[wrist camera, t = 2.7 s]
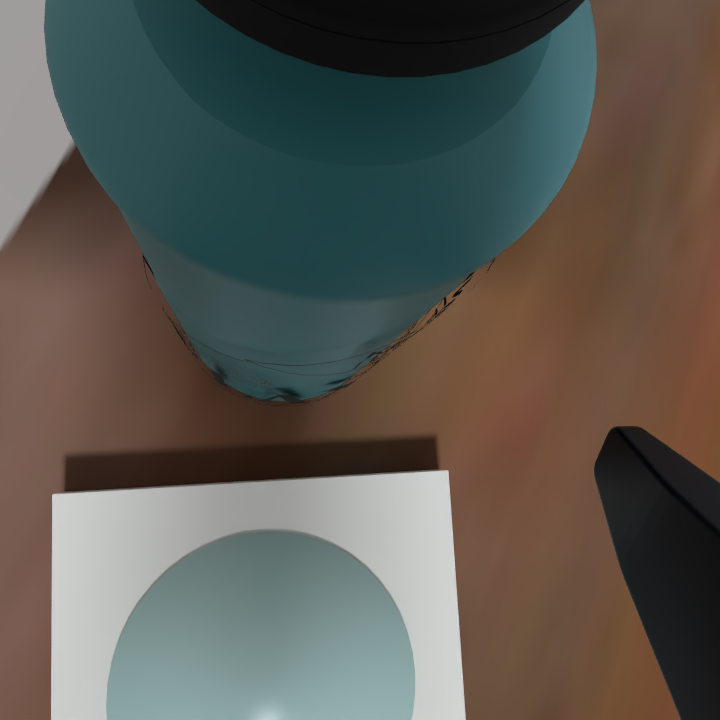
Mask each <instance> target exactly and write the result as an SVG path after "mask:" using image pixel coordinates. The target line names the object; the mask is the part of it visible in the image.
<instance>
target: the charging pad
mask: <svg viewBox="0 0 720 720" xmlns="http://www.w3.org/2000/svg"><path fill="white" fill-rule="evenodd" d="M51 720H466V718H465V704H464V690H463V675H462V661H461V646H460V632H459V618H458V603H457V589H456V574H455V560H454V546H453V531H452V517H451V502H450V488H449V474H448V470H439V469H437V470H421V471H404V472H387V473H371V474H354V475H338V476H321V477H304V478H288V479H271V480H255V481H238V482H221V483H205V484H188V485H172V486H155V487H138V488H122V489H105V490H89V491H72V492H62V493H57V494H52V665H51Z"/></svg>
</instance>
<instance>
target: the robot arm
mask: <svg viewBox="0 0 720 720" xmlns="http://www.w3.org/2000/svg"><path fill="white" fill-rule="evenodd" d="M594 476H595V481H596V484H597V488H598V492H599V495H600V499H601V502H602V506H603V509H604V513H605V517H606V520H607V524H608V527H609V531H610V534H611V538H612V542H613V545H614V549H615V552H616V556H617V559H618V562H619V565H620V568H621V571H622V573H623V576H624V579H625V581H626V584H627V586H628V589H629V591H630V594H631V596H632V599H633V601H634V604H635V606H636V609H637V611H638V614H639V616H640V619H641V621H642V624H643V626H644V629H645V631H646V634H647V636H648V639H649V641H650V644H651V646H652V649H653V651H654V654H655V656H656V659H657V661H658V664H659V666H660V669H661V671H662V674H663V676H664V679H665V681H666V684H667V686H668V689H669V691H670V694H671V696H672V699H673V701H674V704H675V706H676V709H677V711H678V714H679V716H680V719H681V720H720V483H719V482H718V481H717V480H715V479H714V478H712V477H711V476H709V475H708V474H707V473H705V472H704V471H702V470H701V469H700V468H698V467H697V466H695V465H694V464H692V463H691V462H690V461H688V460H687V459H685V458H684V457H682V456H681V455H680V454H678V453H677V452H675V451H674V450H673V449H671V448H670V447H668V446H667V445H665V444H664V443H663V442H661V441H660V440H658V439H657V438H656V437H654V436H653V435H651V434H650V433H648V432H647V431H646V430H644V429H642V428H641V427H637V426H616V427H613V428H612V429H611V430H610V431H609V433H608V435H607V437H606V439H605V441H604V444H603V446H602V448H601V451H600V453H599V455H598V458H597V460H596V462H595V467H594Z"/></svg>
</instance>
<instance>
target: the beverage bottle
mask: <svg viewBox="0 0 720 720" xmlns="http://www.w3.org/2000/svg"><path fill="white" fill-rule="evenodd" d="M44 32H45V43H46V55H47V63H48V68H49V72H50V77H51V80H52V85H53V89H54V94H55V97H56V100H57V102H58V105H59V108H60V110H61V113H62V116H63V118H64V121H65V123H66V126H67V129H68V131H69V132H70V134H71V136H72V138H73V140H74V142H75V144H76V146H77V148H78V150H79V151H80V153H81V155H82V157H83V159H84V161H85V163H86V164H87V166H88V168H89V169H90V171H91V172H92V174H93V175H94V176H95V178H96V179H97V181H98V182H99V183H100V185H101V186H102V188H103V189H104V190H105V192H106V193H107V194H108V196H109V197H110V199H111V200H112V201H113V202H114V203H115V204H116V205H117V206H118V208H119V210H120V211H121V213H122V215H123V217H124V219H125V221H126V222H127V224H128V226H129V228H130V230H131V232H132V233H133V235H134V237H135V239H136V241H137V243H138V245H139V246H140V248H141V250H142V252H143V254H144V255H143V261H144V260H145V262H146V263H147V265H148V267H149V268H150V267H151V268H152V270H151V268H150V270H151V272H152V274H153V275H154V277H155V280H156V282H157V283H158V285H159V287H160V289H161V291H162V293H163V295H164V296H165V298H166V300H167V302H168V303H169V305H170V307H171V309H172V310H173V312H174V314H175V315H176V317H177V319H178V321H179V322H180V324H181V326H182V328H183V329H184V331H185V332H184V331H183V332H184V333H186V334H187V336H188V338H189V340H190V342H191V343H192V345H193V346H194V348H195V350H196V352H197V353H198V355H199V357H200V358H201V360H202V361H203V362H204V364H205V365H206V366H207V367H208V368H209V369H210V370H211V372H212V373H213V375H214V377H215V380H217V381H218V382H219V383H220V384H222V385H224V386H225V387H227V386H226V384H228V385H229V386H231V387H233V388H234V389H236V390H238V391H240V392H242V393H245V394H247V395H250V396H245V397H248V398H252V396H253V397H257V398H260V399H263V400H259V401H263V402H266V401H269V400H271V401H284V402H289V403H291V404H295V403H305V401H302V400H305V399H310V398H314V397H317V396H319V395H322V394H325V393H327V392H329V391H334V390H337V391H338V390H339V389H342V388H345V387H347V386H348V385H350V384H351V383H349V384H347V385H343V386H342V385H341V384H343V383H344V382H346V381H347V380H349V379H350V380H351V377H352V376H353V375H354V374H355V373H357V372H358V371H359V370H360V369H361V368H362V367H364V366H365V365H367V363H368V362H369V361H370V363H371V361H375V360H376V359H375V358H377V356H376V355H378V356H379V354H381V353H383V352H381V351H383V350H384V349H386V347H387V346H388V345H389V344H391V343H392V342H393V341H394V340H395V339H396V338H398V337H399V336H400V335H401V334H403V332H405V331H407V329H408V328H409V327H411V326H412V325H413V326H415V325H416V324H415V322H416V321H418V320H419V319H420V318H421V317H422V316H423V315H425V314H426V313H427V312H428V311H430V310H431V309H432V308H433V307H434V306H435V305H436V304H438V303H439V302H440V301H441V300H443V299H444V306H445V305H446V296H447V295H448V294H450V293H451V292H452V291H453V290H454V289H456V288H457V287H458V286H459V285H460V284H461V283H463V282H464V281H465V280H467V279H468V278H469V277H470V276H471V275H472V274H473V273H474V272H475V271H476V270H478V269H479V268H481V267H483V266H484V265H486V264H488V263H489V262H491V261H492V260H493V259H494V260H495V258H496V257H497V256H498V255H499V254H501V253H502V252H503V251H504V250H506V249H507V248H508V247H509V246H511V245H512V244H513V243H514V242H515V241H517V240H518V239H519V238H520V237H521V236H522V235H523V234H524V233H525V232H526V231H527V230H528V229H529V228H530V227H531V226H532V225H533V224H534V223H535V222H536V220H537V219H538V218H539V217H540V216H541V215H542V214H543V213H544V212H545V210H546V209H547V207H548V206H549V205H550V203H551V202H552V201H553V199H554V198H555V196H556V195H557V194H558V192H559V191H560V190H561V188H562V186H563V184H564V182H565V180H566V179H567V177H568V175H569V173H570V171H571V169H572V167H573V165H574V163H575V161H576V159H577V156H578V153H579V150H580V148H581V145H582V142H583V139H584V137H585V134H586V131H587V128H588V124H589V120H590V115H591V110H592V105H593V101H594V96H595V83H596V70H597V56H596V35H595V28H594V23H593V17H592V11H591V5H590V1H589V0H46V3H45V24H44ZM144 256H145V257H146V259H147V261H148V262H147V261H146V259H145V257H144ZM494 260H493V261H494ZM148 263H149V264H148ZM492 263H493V262H492ZM149 265H150V266H149ZM491 265H492V264H491ZM491 265H490V266H491ZM144 267H145V265H144ZM489 268H490V267H489ZM488 270H489V269H488ZM488 270H487V271H488ZM145 273H146V271H145ZM486 273H487V272H486ZM146 276H147V275H146ZM471 278H472V277H471ZM471 278H470V279H471ZM147 279H148V278H147ZM470 279H469V280H468V281H467V282H466V283H465V284H467V283H468V282H469V281H470ZM148 282H149V281H148ZM465 284H464V285H465ZM476 284H477V283H476ZM476 284H475V285H476ZM149 285H150V284H149ZM464 285H463V286H464ZM475 285H474V286H475ZM463 286H462V287H463ZM462 287H461V288H462ZM150 288H151V287H150ZM461 288H460V289H461ZM460 289H459V290H460ZM459 290H458V291H459ZM458 291H457V292H456V293H455V294H454V295H453V297H455V296H457V295H460V293H461V292H462V290H461V291H459V292H458ZM453 297H452V298H453ZM155 298H156V297H155ZM455 299H456V298H455ZM455 299H454V300H455ZM460 299H461V298H460ZM454 300H453V301H454ZM453 301H452V302H453ZM441 302H442V301H441ZM452 302H450V303H452ZM450 303H449V304H450ZM440 304H441V303H440ZM449 304H448V305H449ZM448 305H446V306H445V307H447V306H448ZM438 307H439V306H438ZM438 307H437V308H438ZM445 307H444V308H445ZM444 308H442V309H441V310H440V311H439V314H441V313H442V312H443V311H444V310H443V309H444ZM163 309H164V308H163ZM446 309H447V308H446ZM446 309H445V310H446ZM442 310H443V311H442ZM436 311H437V309H436V310H435V312H436ZM441 311H442V312H441ZM167 312H168V311H167ZM437 312H438V311H437ZM437 312H436V313H434V314H433V315H436V314H437ZM440 312H441V313H440ZM165 313H166V312H165ZM428 313H429V312H428ZM428 313H427V314H428ZM439 314H438V315H439ZM438 315H437V316H438ZM437 316H436V318H437ZM439 316H440V315H439ZM167 317H170V316H167ZM425 317H426V316H425ZM425 317H424V318H425ZM432 318H433V317H432ZM432 318H431V319H432ZM168 319H169V318H168ZM431 319H430V320H431ZM434 319H435V318H434ZM434 319H433V320H434ZM169 320H171V319H169ZM430 320H428V321H427V322H428V323H430ZM431 321H432V320H431ZM421 322H422V321H421ZM427 322H426V323H427ZM416 323H417V322H416ZM426 323H425V325H426ZM428 323H427V324H428ZM172 324H173V322H172ZM414 324H415V325H414ZM173 325H174V324H173ZM413 326H412V327H413ZM418 326H419V325H418ZM418 326H417V327H418ZM174 327H175V326H174ZM412 327H411V329H410V330H412V329H413V328H414V327H413V328H412ZM422 327H423V326H422ZM424 327H425V326H424ZM180 328H181V327H180ZM175 329H176V327H175ZM419 329H420V328H419ZM421 329H423V328H421ZM421 329H420V330H421ZM410 330H408V331H410ZM420 330H419V331H420ZM176 331H177V332H178V330H177V329H176ZM179 331H180V330H179ZM408 331H407V332H408ZM181 332H182V331H181ZM181 332H180V333H181ZM413 332H415V331H413ZM413 332H412V333H413ZM417 332H418V331H417ZM417 332H416V333H417ZM180 333H179V332H178V334H179V335H180ZM408 333H409V332H408ZM408 333H406V334H408ZM412 333H410V334H412ZM416 333H415V334H416ZM406 334H405V335H406ZM415 334H414V335H415ZM408 335H409V334H408ZM182 336H183V335H182ZM412 336H413V335H412ZM412 336H411V337H412ZM180 337H181V335H180ZM404 337H405V336H404ZM404 337H403V336H402V339H403V338H404ZM406 337H407V335H406ZM409 337H410V336H409ZM409 337H408V338H407V339H409ZM185 338H186V337H185ZM181 339H182V340H183V339H184V338H182V337H181ZM400 339H401V338H400ZM407 339H404V341H405V342H406V340H407ZM184 340H185V339H184ZM184 340H183V342H184V344H185V343H186V342H185V341H184ZM186 340H187V338H186ZM398 340H399V339H398ZM402 341H403V340H401V341H400V342H398V343H396V344H394V345H393V346H392V347H391V348H390V349H392V348H394V346H395V348H398V347H399V345H400V344H401V342H402ZM404 341H403V342H404ZM187 342H188V343H189V345H190V344H191V343H190V342H189V341H187ZM397 344H398V345H397ZM185 345H186V344H185ZM192 345H191V347H192ZM396 345H397V346H398V347H396ZM400 346H401V345H400ZM389 347H390V346H389ZM187 348H188V347H187ZM194 348H192V349H193V350H194ZM387 348H388V347H387ZM188 350H189V349H188ZM195 350H194V351H195ZM387 350H389V348H388V349H387ZM394 350H395V349H394ZM385 352H387V351H385ZM190 353H191V352H190ZM192 353H193V352H192ZM193 354H194V353H193ZM193 354H192V355H193ZM385 354H386V353H384V354H383V355H385ZM194 355H195V354H194ZM386 355H389V354H386ZM195 356H196V355H195ZM375 356H376V357H375ZM196 357H197V356H196ZM374 357H375V358H374ZM385 357H386V356H385ZM385 357H384V356H383V358H385ZM194 358H195V357H194ZM373 358H374V359H375V360H374V359H373ZM379 358H380V357H379ZM197 359H198V358H197ZM377 359H378V358H377ZM379 360H380V359H379ZM379 360H378V362H379ZM196 362H197V361H196ZM378 362H377V364H378ZM368 364H369V363H368ZM372 364H373V363H372ZM374 364H375V362H374ZM369 365H370V364H369ZM367 366H368V365H367ZM201 368H202V367H201ZM371 368H372V367H371ZM202 369H203V368H202ZM369 369H370V368H369ZM366 371H367V369H366ZM366 371H365V372H364V373H366ZM368 371H369V370H368ZM364 373H361V374H362V375H363V374H364ZM207 375H208V374H207ZM358 375H359V374H358ZM362 375H361V376H362ZM208 376H209V375H208ZM209 377H210V376H209ZM356 377H357V375H356ZM354 378H355V377H354ZM211 379H212V376H211ZM352 379H353V378H352ZM217 381H216V383H217ZM355 381H356V379H355ZM352 383H353V382H352ZM222 385H221V386H222ZM340 385H341V386H340ZM227 388H228V387H227ZM227 388H226V390H227ZM230 390H231V389H230ZM234 392H235V391H234ZM234 392H233V393H234ZM335 392H336V391H335ZM231 393H232V391H231ZM236 393H237V392H236ZM333 393H334V392H333ZM238 394H239V393H238ZM238 394H237V396H238ZM331 394H332V393H331ZM335 394H336V393H335ZM241 395H242V394H241ZM241 395H240V396H241ZM329 395H330V394H329ZM240 396H239V397H240ZM243 396H244V395H243ZM243 396H242V397H243ZM327 396H328V395H327ZM327 396H325V397H326V398H327ZM331 396H332V395H331ZM245 397H244V398H245ZM322 398H324V397H322ZM252 399H253V398H252ZM246 400H247V398H246ZM250 400H251V399H250ZM250 400H249V401H250ZM255 400H256V399H255ZM255 400H254V401H255ZM320 400H321V398H320ZM254 401H253V402H254ZM317 401H318V400H317ZM263 402H261V403H263ZM313 402H314V400H313ZM256 403H257V402H256ZM261 403H260V404H261ZM269 403H271V402H269ZM308 403H309V404H310V402H309V401H308ZM267 404H268V403H267ZM267 404H266V405H267ZM273 405H274V404H273ZM273 405H272V406H273ZM304 405H305V404H304ZM296 406H298V405H296Z"/></svg>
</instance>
